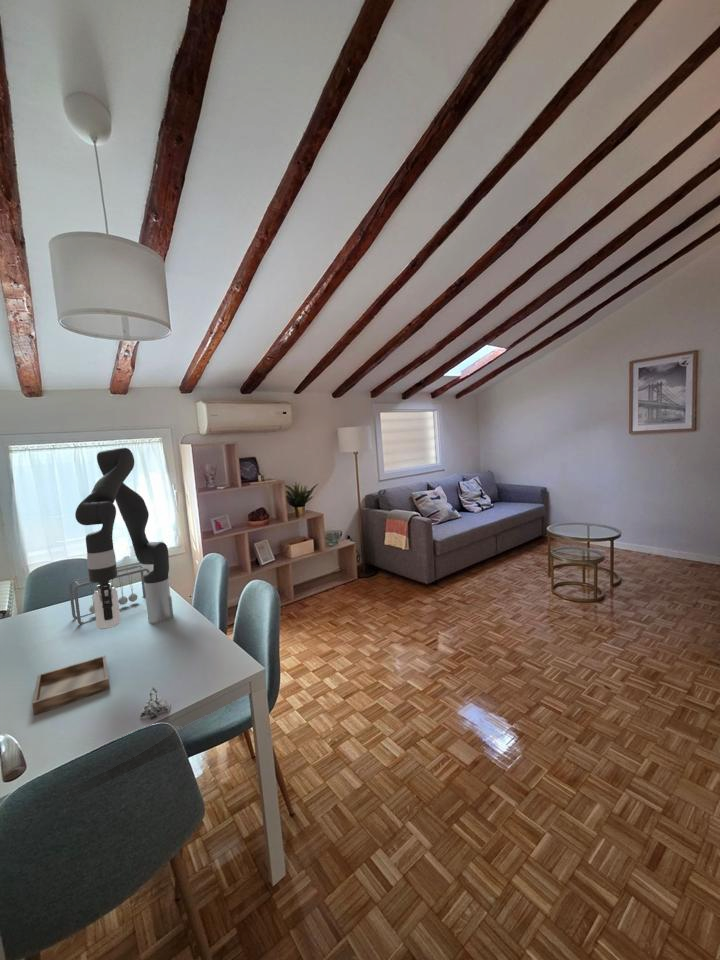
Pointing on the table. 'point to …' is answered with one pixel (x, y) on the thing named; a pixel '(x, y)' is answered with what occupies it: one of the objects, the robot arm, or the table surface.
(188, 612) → the table surface
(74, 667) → the tray
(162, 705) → the grey jagged ornament
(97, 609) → the can
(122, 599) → the newton's cradle
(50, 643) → the table surface
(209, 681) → the table surface
